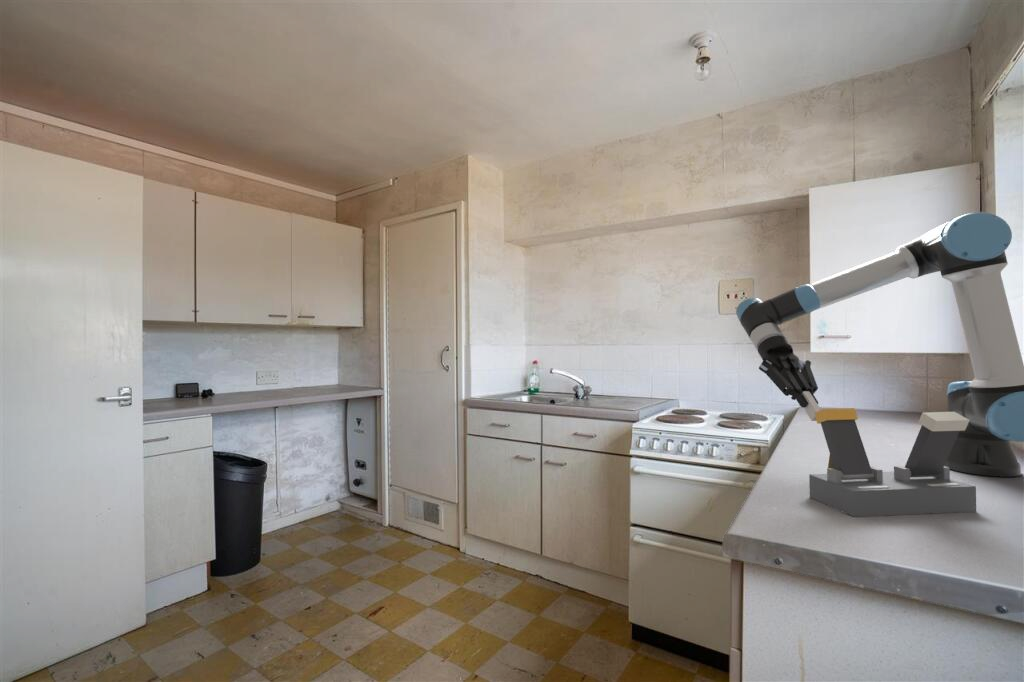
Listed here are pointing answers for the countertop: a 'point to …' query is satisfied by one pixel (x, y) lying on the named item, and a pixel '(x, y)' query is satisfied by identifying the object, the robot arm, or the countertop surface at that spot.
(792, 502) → the countertop surface
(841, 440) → the amber lever
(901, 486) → the switch block
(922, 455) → the cream lever
